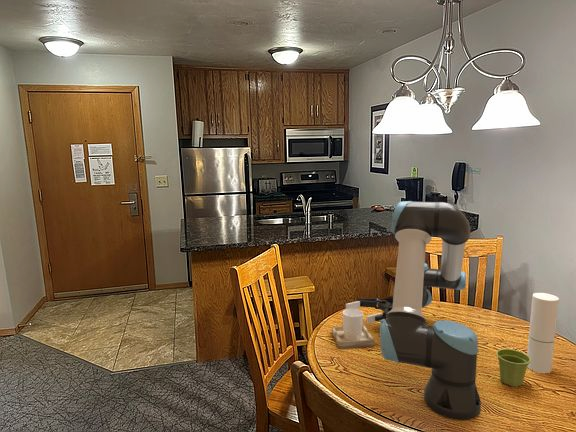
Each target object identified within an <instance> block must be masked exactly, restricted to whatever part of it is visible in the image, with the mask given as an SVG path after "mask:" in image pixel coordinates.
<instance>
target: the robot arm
mask: <svg viewBox="0 0 576 432" xmlns="http://www.w3.org/2000/svg"><path fill="white" fill-rule="evenodd" d="M392 213H393V214H392V217H391V218H392V220H391V228H390V229H391V232H392V233H391V234H393V235H394V238H395V239H396V241H398V248H397V249H398V252H397V259H396V260H397V263H396V270H395V278H394V279H395V281H394V288H393V289H394V291H393V294H391V295H388V296H387V297H386V299H382V300H381V298H380V297H362V298H361V297H360V298H359V297H358V298H356V301H352V302H349V303H345V310H346V309H360V308H361V307H362V308H372V309H374V310H380V311H382V312H378V313H374V314H369V315H366V324H368V325H369V324H372V323H377V322H379V321H380V322H379V323H380V324H379V339H380V340H379V341H380V351H381V352H380V353H381V356H382V357H383V358H384V359H385V360H387V361H390V362H394V363H396V364H405V365H412V366H416V367H422V368H428V369H431V375H430V377H429V379H428V381H427V383H426V386H425V388H424V391H423V400H424V403H425V405H426V406H427V407H428V408H429V409H430V410H431V411H432V412H434V413H435V414H437V415H439V416H441V417H444V418H447V419H449V420H450V419H451V420H455V421H469V420H472V419H475V418H477V417H478V416H479V415H480V413H481V408H482V402H481V397H480V395H479V391H478V387H477V383H476V380H477V377H476V376H477V362H478V361H477V360H478V353H479V348H478V346H479V343H478V342H479V338H478V336H477V334H476V332H475V331H473V329H472V328H469V327H468V326H466V325H465V324H462V323H460V322H457V321H453V320H446V319H443V320H436V321H435V322H434V323H433V325H427V319H426V317H425V316H424V314H423V313H422V309H423V308H426V307H428V306H429V305H430V304H432V301H433V296H432V293H431V291H430V290H429V289H427V288H428V287H429V288H438V289H447V290H453V291H456V290H458V291H464V290H465V289H466V283H467V273H466V272H465V271H462V270H463V263H464V257H465V248H466V243H467V242H468V241H469V239H470V236H471V226H470V222H469V220H468V219H467V217H466V215H465V214H464V213H463V212H462V210H460V209H459V208H458V207H456V206H455V205H453V204H451V203H448V202H444V201H437V202H436V201H412V200H408V201H406V200H405V201H403V200H402V201H400V202H398V203H397V204H396V205H395V208H394V210H393V212H392ZM432 237H438V238H441V241H442V242H441V243H442V244H441V245H442V246H441V261H440V269H439V268H430V267H428V266H429V265H428V264H427V263H426V248H427V245H428V244H429V243H431V242H432Z"/></svg>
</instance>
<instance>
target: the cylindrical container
mask: <svg viewBox="0 0 576 432" xmlns="http://www.w3.org/2000/svg"><path fill="white" fill-rule="evenodd" d="M531 298H532V299H531V307H530V308H531V309H530V319H529V320H530V321H529V331H528V342H527V351H526V353H527V354H526V355H528V356H529V357H530V359H531V362H530V363H529V364H528V366H527V367H528V368H529V369H528V368H527V369H528V370H530V369H531V370H533V371H532V372H534V371H536V372H540V373H549V374H551V373H552V371H551V370H553V369H552V368H553V359H554V350H555V340H556V331H557V322H558V313H559V312H558V311H559V301H560V299H559V297H558V296H556V295H554V294H550V293H546V292H534V293H533V294H532V297H531ZM531 370H530V371H531ZM536 372H535V373H536ZM550 372H551V373H550ZM540 373H539V374H540Z"/></svg>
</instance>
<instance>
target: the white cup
mask: <svg viewBox="0 0 576 432" xmlns="http://www.w3.org/2000/svg"><path fill="white" fill-rule="evenodd" d="M363 323H364V312H363V311H362V310H361V309H359V308H357V309H346V308H345V309H343V311H342V326H343V330H344V338H345V339H347V340H351V341H354V340H360V339H361V334H362V326H363V325H364V324H363Z"/></svg>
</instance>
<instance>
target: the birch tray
mask: <svg viewBox="0 0 576 432" xmlns="http://www.w3.org/2000/svg"><path fill="white" fill-rule="evenodd" d="M331 333H332V336H333V338H334V340H335V342H336V345H337V346H338V348H339V350H344V349H358V348H369V347H370V348H371V347H375V339H374V338H373V336H372V335H371V333H370V332H369V330H368V329H367V327H366V325H365V324H363V326H362V334H361V339H360V340H354V341H351V340H347V339H345V338H344V330H343V325H342V326H341V325H339V326H331Z"/></svg>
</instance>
